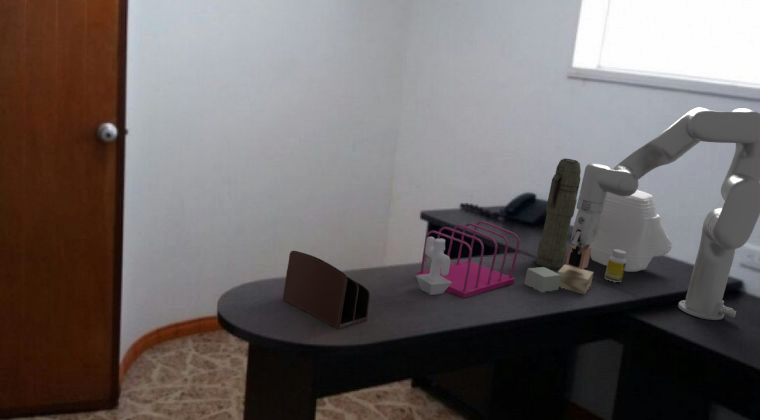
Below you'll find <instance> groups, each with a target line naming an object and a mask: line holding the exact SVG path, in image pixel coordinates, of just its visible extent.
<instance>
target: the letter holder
mask: <svg viewBox="0 0 760 420" xmlns="http://www.w3.org/2000/svg"><path fill="white" fill-rule="evenodd" d="M370 299H371V294H370V291H369V290H368V288H366V287H365V286H364V285H363V284H361V283H359V282H357V281H356V280H354V279H352V278H350V277H348V276H347V275H346V274H345V273H344V272H342V271H341V270H340V269H339V268H337V267H335V266H333V265H332V264H330V263H329V262H326V261H325V260H322V259H320V258H319V257H316V256H314V255H311V254H308V253H305V252H301V251H297V250H291V251H290V253H289V257H288V263H287V268H286V275H285V283H284V289H283V295H282V300H283V301H284V302H286V303H288V304H290V305H292V306H294V307H296V308H297V309H300V310H301V311H303V312H305V313H307V314H309V315H311V316H313V317H314V318H316V319H318V320H319V321H322V322H323V323H326V324H327V325H329V326H332V327H333V326H334V327H333V328H335V327H336V328H335V329H336V330H339V329H338V328H341V329H343V328H342V327H344V328H346V327H345V326H347V327H349V325H351V326H353V325H352V324H354V325H357V324H360V323H363V321H364V322H366V321H367V320H368V314H369V305H370ZM359 322H360V323H359ZM356 323H357V324H356Z"/></svg>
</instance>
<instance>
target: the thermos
mask: <svg viewBox="0 0 760 420" xmlns="http://www.w3.org/2000/svg"><path fill="white" fill-rule="evenodd" d="M581 173H582V171H581V163H580V162H579V161H578V160H575V159H570V158H561V159H560V160H559V162H558V163H557V165H556V170H555V174H554V175H553V177H552V178H551V183H550V189H549V192H548V196H547V197H548V199H547V201H546V203H547V204H546V207H545V208H546V209H545V210H546V216H545V219H544V226H543V229H542V230H543V231H542V235H541V239H540V240H539V242H538V246H537V250H536V251H537V252H536V259H535V263H536V264H537V265H538V266H541V267H545V268H547V269H553V270H554V269H555V270H557V269H558V270H560V269H561V268H562V267H563V265H564V264H563V263H564V261H565V258H566V253H567V249H568V248H567V240H568V236H569V231H570V226H571V222H572V221H571V220H572V218H573V217H574V214H575V209H576V207H577V202H578V199H577V198H578V193H579V187H580V184H581Z"/></svg>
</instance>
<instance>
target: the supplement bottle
mask: <svg viewBox="0 0 760 420" xmlns="http://www.w3.org/2000/svg"><path fill="white" fill-rule="evenodd" d="M612 254H613V255H612V256H610V257H609V260H608V264H607V266H606V269H605V273H604V280H606V281H608V280H609V282H611V281H613V282H612V283H616V282H620V283H622V281H623V278H624V277H623V276H624V273H625V271H624V269H625V265H626V259H625V258H624V257H625V256H626V252H625V251H623V250H619V249H614V250H613V253H612Z"/></svg>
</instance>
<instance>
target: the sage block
mask: <svg viewBox="0 0 760 420" xmlns="http://www.w3.org/2000/svg"><path fill="white" fill-rule="evenodd" d="M560 278H561V275H560V274H558V272H556V271H553V270H551V269H550V268H547V267H543V266H541V267H529V268H527V269H526V274H525V280H524V285H526V286H527V287H530V288H531V287H533V288H534V290H535V289H537V290H539V291H541V292H542V293H546V292H545V291H550V292H553V291H552V290H559V289H560V288H559V283H560ZM533 288H532V289H533ZM537 290H536V291H537ZM539 291H538V292H539ZM541 292H540V293H541Z"/></svg>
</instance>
